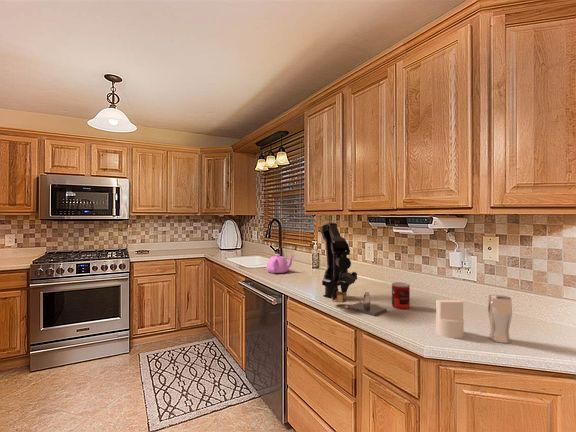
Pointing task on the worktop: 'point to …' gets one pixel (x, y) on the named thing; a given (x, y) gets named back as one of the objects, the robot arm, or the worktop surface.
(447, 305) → the base with upright slab
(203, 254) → the worktop surface
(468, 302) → the worktop surface
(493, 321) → the beer glass
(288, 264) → the teapot
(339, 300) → the ring
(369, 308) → the shaft stand
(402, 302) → the canned food
